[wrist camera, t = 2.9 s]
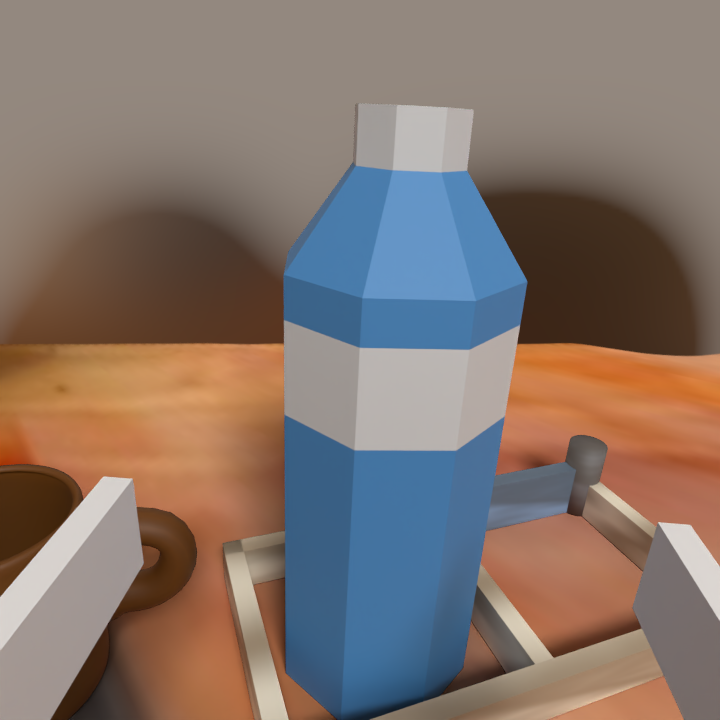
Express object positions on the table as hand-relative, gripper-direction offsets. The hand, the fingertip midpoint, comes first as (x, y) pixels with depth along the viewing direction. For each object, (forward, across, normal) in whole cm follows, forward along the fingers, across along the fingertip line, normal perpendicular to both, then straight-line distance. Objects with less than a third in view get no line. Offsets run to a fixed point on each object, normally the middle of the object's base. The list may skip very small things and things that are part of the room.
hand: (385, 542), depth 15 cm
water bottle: (+10, 0, -15) cm, 18 cm away
